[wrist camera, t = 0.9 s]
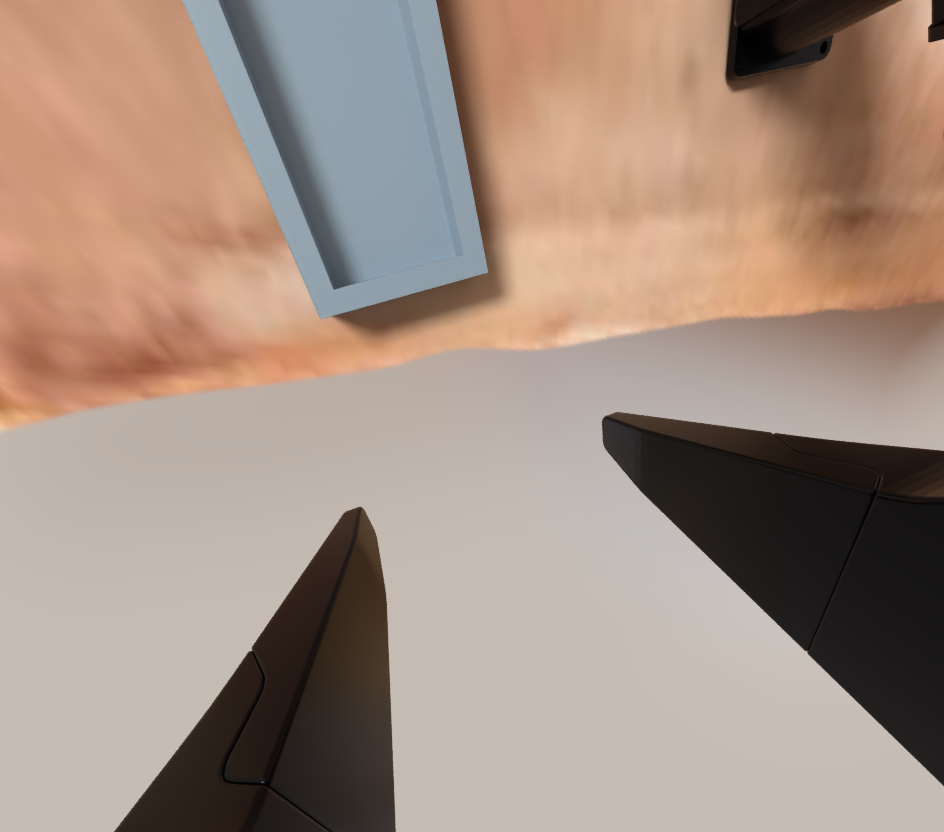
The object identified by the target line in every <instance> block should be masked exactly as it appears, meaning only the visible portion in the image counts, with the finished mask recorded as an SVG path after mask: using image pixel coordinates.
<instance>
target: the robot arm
mask: <svg viewBox="0 0 944 832" xmlns="http://www.w3.org/2000/svg"><path fill="white" fill-rule="evenodd" d="M899 1H901V0H733V8H732V19H731V30H730V41H729V52H728V63H727V75H728V78H729V79H730V80H738V79H742V78H747V77H752V76H757V75H762V74H766V73H771V72H776V71H781V70H786V69H790V68H795V67H800V66H805V65H810V64H814V63H816V62H818V61H820V60H822V59H824V58H825V57H826V56H827V55H828V53H829V51H830V47H831V43H832V38H833V34H835V33H837V32H839V31H841V30H843V29H845V28H847V27H849V26H851V25H853V24H855V23H857V22H859V21H861V20H863V19H865V18H867V17H869V16H871V15H873V14H875V13H877V12H879V11H881V10H883V9H885V8H887V7H889V6H891V5H893V4H895V3H897V2H899ZM942 39H944V0H932V24H931V25H930V26H929V27H928V42H934V41H938V40H942ZM738 65H739V68H738ZM602 431H603V444H604V447H605V448H606V450H607V451H608V453H609V454H610V455H611V456H612V457H613V459H614V460H615V461H616V462H617V463H618V465H619V466H620V467H621V468H622V470H623V471H624V472H625V473H626V474H627V475H628V477H629V478H630V479H631V480H632V481H633V483H634V484H635V485H636V486H637V487H638V488H639V490H640V491H641V492H642V493H643V494H644V495H645V496H646V497H647V498H648V499H649V500H650V501H651V502H652V503H653V504H654V505H655V506H657V507H658V508H659V509H660V510H661V511H662V512H663V513H664V514H665V515H666V516H667V517H668V518H669V519H670V520H671V521H672V522H673V523H674V524H675V525H676V526H677V527H678V528H679V529H680V530H681V531H682V532H683V533H684V534H685V535H686V536H687V537H688V538H689V539H691V541H693V542H694V543H695V544H696V545H697V546H698V547H699V548H700V549H701V550H702V551H703V552H704V553H705V554H706V555H707V556H708V557H709V558H710V559H711V560H712V561H713V562H714V563H715V564H716V565H717V566H718V567H719V568H721V570H722V571H723V572H724V573H726V575H727V576H729V577H730V578H731V579H732V580H733V581H734V582H735V583H736V584H737V585H738V586H739V587H740V588H741V589H742V590H743V591H744V592H745V593H746V594H747V595H748V596H749V597H750V598H751V599H752V600H753V601H754V602H755V603H756V604H757V605H758V606H759V607H760V608H761V609H763V610H764V611H765V612H766V613H767V614H768V615H769V616H770V617H771V618H772V619H773V620H774V621H775V622H776V623H777V624H778V625H779V626H780V627H781V628H782V629H783V630H784V631H785V632H786V633H787V634H788V635H789V636H790V637H791V638H792V639H793V640H795V642H797V643H798V644H799V645H800V646H801V647H802V648H803V649H804V650H805V651H808V652H807V653H808V655H809V656H811V657H812V658H813V659H814V660H815V661H816V662H817V663H818V664H819V665H820V666H821V667H822V668H823V669H824V670H825V671H826V672H827V673H828V674H829V675H830V676H831V677H832V678H833V679H834V680H835V681H836V682H837V683H838V684H839V685H840V686H841V687H842V688H844V690H845V691H847V692H848V693H849V694H850V695H851V696H852V697H853V698H854V699H855V700H856V701H857V702H858V703H859V704H860V705H861V706H862V707H863V708H864V709H865V710H866V711H867V712H868V713H869V714H870V715H871V716H872V717H873V718H874V719H876V721H877V722H878V723H879V724H881V725H882V726H883V727H884V728H885V729H886V730H887V731H888V732H889V733H890V734H891V735H892V736H893V737H894V738H895V739H896V740H897V741H898V742H899V743H900V744H901V745H902V746H903V747H904V748H905V749H906V750H907V751H908V752H909V753H910V754H911V755H912V756H914V758H915V759H917V760H918V761H919V762H920V763H921V764H922V765H923V766H924V767H925V768H926V769H927V770H928V771H929V772H930V773H931V774H932V775H933V776H934V777H935V778H936V779H937V780H938V781H939V782H940V783H941V784H942V785H943V786H944V451H940V450H929V449H918V448H908V447H897V446H886V445H876V444H865V443H855V442H845V441H835V440H826V439H818V438H809V437H801V436H794V435H786V434H779V433H775V434H772V433H770V432H763V431H755V430H748V429H741V428H733V427H726V426H718V425H711V424H704V423H696V422H688V421H681V420H674V419H666V418H659V417H651V416H644V415H636V414H629V413H621V412H616V413H613V414H610V415H607V416H605V417H604V418H603V420H602ZM388 649H389V648H388V623H387V601H386V592H385V584H384V578H383V572H382V566H381V560H380V554H379V548H378V541H377V537H376V533H375V530H374V529H373V526H372V524H371V522H370V520H369V518H368V516H367V514H366V512H365V510H364V509H363V508H362V507H357V508H355V509H352V510H349V511H346V512H345V513H344V514H343V515H342V517H341V518H340V520H339V521H338V523H337V524H336V525H335V527H334V529H333V530H332V532H331V533H330V534H329V536H328V537H327V539H326V540H325V541H324V543H323V544H322V546H321V547H320V549H319V550H318V552H317V553H316V555H315V556H314V558H313V559H312V560H311V562H310V563H309V565H308V566H307V568H306V569H305V571H304V572H303V573H302V575H301V576H300V578H299V579H298V581H297V582H296V584H295V585H294V587H293V588H292V590H291V591H290V592H289V594H288V595H287V597H286V598H285V600H284V601H283V603H282V604H281V606H280V607H279V609H278V610H277V611H276V613H275V614H274V616H273V617H272V619H271V620H270V622H269V623H268V624H267V626H266V627H265V629H264V630H263V632H262V633H261V635H260V636H259V638H258V639H257V641H256V642H255V643H254V645H253V646H252V651H249V652H248V653H247V655H246V656H245V658H244V659H243V661H242V662H241V664H240V665H239V667H238V668H237V669H236V671H235V672H234V674H233V675H232V677H231V678H230V679H229V681H228V682H227V684H226V685H225V686H224V688H223V689H222V691H221V692H220V694H219V695H218V696H217V698H216V699H215V700H214V702H213V703H212V705H211V706H210V707H209V709H208V710H207V711H206V713H205V714H204V715H203V717H202V718H201V719H200V721H199V722H198V723H197V725H196V726H195V727H194V729H193V730H192V731H191V733H190V734H189V735H188V737H187V738H186V739H185V741H184V742H183V743H182V745H181V746H180V747H179V749H178V750H177V751H176V752H175V754H174V755H173V756H172V758H171V759H170V760H169V761H168V763H167V764H166V766H165V767H164V768H163V769H162V771H161V772H160V773H159V775H158V776H157V777H156V778H155V780H154V781H153V782H152V783H151V785H150V786H149V787H148V789H147V790H146V791H145V793H144V794H143V795H142V796H141V798H140V799H139V800H138V802H137V803H136V804H135V806H134V807H133V808H132V809H131V811H130V812H129V813H128V815H127V816H126V817H125V818H124V820H123V821H122V822H121V823H120V825H119V826H118V827H117V829H116V830H115V831H114V832H396V829H395V803H394V777H393V751H392V725H391V699H390V677H389V676H390V674H389V650H388Z"/></svg>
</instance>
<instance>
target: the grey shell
mask: <svg viewBox="0 0 944 832" xmlns="http://www.w3.org/2000/svg"><path fill="white" fill-rule="evenodd" d="M182 1H183V3H184V6H185V8H186V10H187V12H188V15H189V17H190V19H191V22H192V24H193V26H194V29H195V31H196V33H197V36H198V38H199V40H200V42H201V45H202V47H203V49H204V52H205V54H206V56H207V59H208V61H209V63H210V66H211V68H212V70H213V72H214V75H215V77H216V79H217V82H218V84H219V86H220V89H221V91H222V93H223V96H224V98H225V100H226V103H227V105H228V107H229V109H230V112H231V114H232V116H233V119H234V121H235V123H236V126H237V128H238V130H239V133H240V135H241V137H242V139H243V142H244V144H245V146H246V149H247V151H248V153H249V156H250V158H251V160H252V163H253V165H254V167H255V169H256V172H257V174H258V176H259V179H260V181H261V183H262V186H263V188H264V190H265V193H266V195H267V197H268V200H269V202H270V204H271V206H272V209H273V211H274V213H275V216H276V218H277V220H278V223H279V225H280V227H281V230H282V232H283V234H284V236H285V239H286V241H287V243H288V246H289V248H290V250H291V253H292V255H293V257H294V260H295V262H296V264H297V266H298V269H299V271H300V273H301V276H302V278H303V280H304V283H305V285H306V287H307V290H308V292H309V294H310V297H311V299H312V301H313V303H314V306H315V308H316V310H317V313H318V315H319V317H320V319H323V318H327V317H331V316H334V315H338V314H341V313H345V312H349V311H352V310H356V309H359V308H363V307H366V306H370V305H374V304H377V303H381V302H384V301H388V300H392V299H395V298H399V297H402V296H406V295H410V294H413V293H417V292H420V291H424V290H427V289H431V288H435V287H438V286H442V285H445V284H449V283H453V282H456V281H460V280H463V279H467V278H471V277H474V276H478V275H481V274H485V273H488V269H487V264H486V259H485V253H484V248H483V243H482V238H481V232H480V227H479V222H478V217H477V212H476V206H475V201H474V196H473V191H472V186H471V180H470V175H469V170H468V165H467V159H466V154H465V149H464V144H463V139H462V133H461V128H460V123H459V118H458V113H457V107H456V102H455V97H454V92H453V86H452V81H451V76H450V71H449V66H448V60H447V55H446V50H445V45H444V40H443V34H442V29H441V24H440V19H439V13H438V8H437V3H436V0H182Z"/></svg>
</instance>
